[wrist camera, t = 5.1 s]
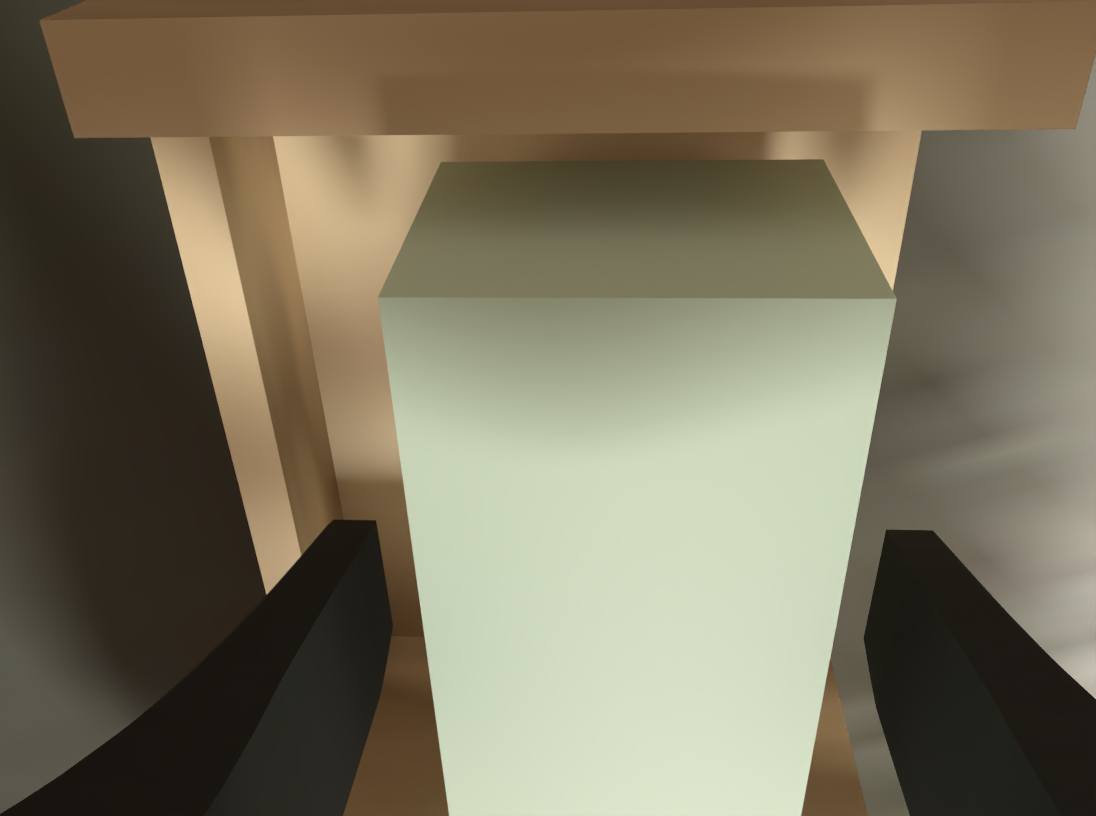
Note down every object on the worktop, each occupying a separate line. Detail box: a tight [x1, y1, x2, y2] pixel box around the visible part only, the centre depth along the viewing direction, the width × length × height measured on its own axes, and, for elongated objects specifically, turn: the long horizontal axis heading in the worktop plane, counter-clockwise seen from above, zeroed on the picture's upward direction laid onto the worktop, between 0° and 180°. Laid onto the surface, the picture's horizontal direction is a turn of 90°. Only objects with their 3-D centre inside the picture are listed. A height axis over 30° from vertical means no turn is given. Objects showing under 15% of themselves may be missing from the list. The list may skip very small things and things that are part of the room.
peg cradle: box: [39, 0, 1096, 816], centre depth 16 cm, size 15×11×6 cm
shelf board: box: [378, 159, 896, 816], centre depth 14 cm, size 10×5×4 cm, turn 2°
